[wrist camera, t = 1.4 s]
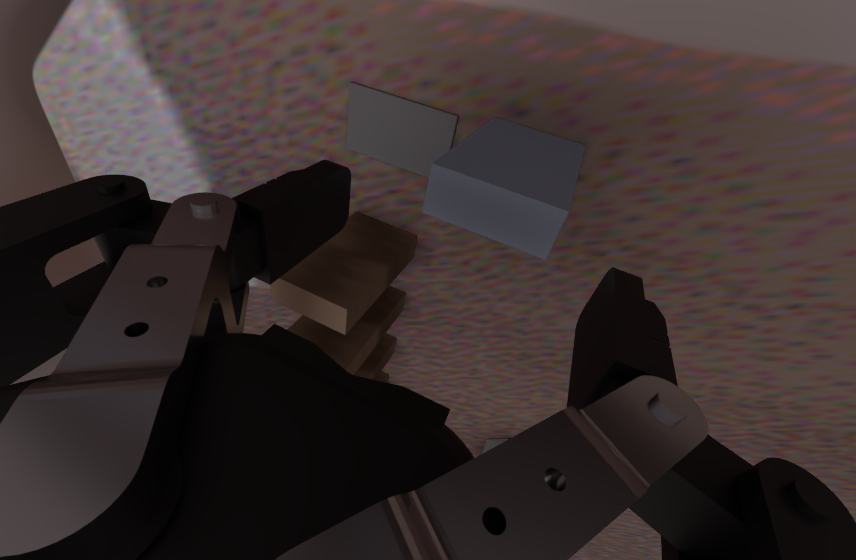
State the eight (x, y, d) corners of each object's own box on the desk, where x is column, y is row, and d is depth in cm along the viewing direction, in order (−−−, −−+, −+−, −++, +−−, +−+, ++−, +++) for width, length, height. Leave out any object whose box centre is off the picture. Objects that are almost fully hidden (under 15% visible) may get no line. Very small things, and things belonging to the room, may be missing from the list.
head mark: (458, 116, 21) (457, 116, 20) (443, 182, 23) (442, 182, 23) (351, 81, 22) (349, 82, 22) (348, 147, 24) (346, 148, 24)
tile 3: (405, 293, 29) (342, 373, 23) (402, 310, 31) (341, 391, 24) (352, 269, 30) (276, 339, 24) (350, 287, 32) (278, 359, 25)
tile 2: (417, 235, 26) (347, 309, 19) (412, 258, 27) (345, 335, 20) (356, 211, 27) (269, 273, 20) (355, 234, 28) (272, 299, 21)
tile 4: (396, 338, 33) (339, 419, 26) (393, 352, 34) (338, 433, 27) (348, 316, 34) (281, 388, 27) (347, 330, 35) (283, 403, 28)
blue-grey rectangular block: (585, 145, 19) (569, 211, 12) (569, 181, 20) (545, 260, 13) (494, 116, 20) (431, 163, 13) (484, 153, 21) (422, 212, 14)
